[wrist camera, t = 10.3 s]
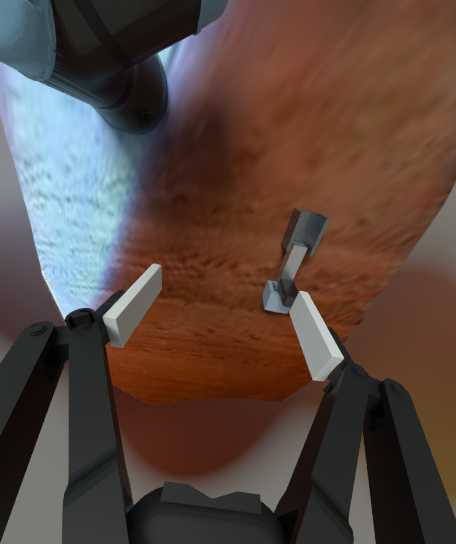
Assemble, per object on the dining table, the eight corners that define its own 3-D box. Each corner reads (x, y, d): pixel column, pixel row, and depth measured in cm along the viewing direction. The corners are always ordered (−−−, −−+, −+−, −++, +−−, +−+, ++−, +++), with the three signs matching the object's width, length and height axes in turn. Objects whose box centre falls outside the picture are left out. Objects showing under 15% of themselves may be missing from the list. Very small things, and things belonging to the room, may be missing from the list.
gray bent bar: (290, 240, 44) (304, 259, 34) (303, 243, 44) (321, 262, 34) (270, 291, 52) (277, 318, 42) (281, 293, 52) (290, 320, 42)
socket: (267, 280, 52) (271, 293, 46) (288, 284, 52) (294, 297, 46) (262, 295, 55) (264, 309, 49) (282, 299, 55) (286, 313, 49)
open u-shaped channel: (294, 208, 41) (301, 212, 37) (320, 214, 41) (330, 219, 37) (281, 243, 46) (286, 250, 41) (305, 248, 46) (312, 256, 41)
